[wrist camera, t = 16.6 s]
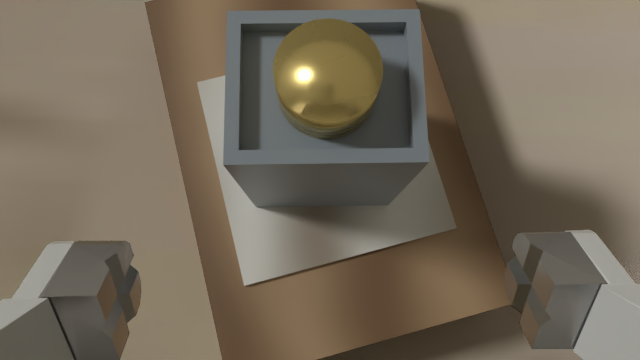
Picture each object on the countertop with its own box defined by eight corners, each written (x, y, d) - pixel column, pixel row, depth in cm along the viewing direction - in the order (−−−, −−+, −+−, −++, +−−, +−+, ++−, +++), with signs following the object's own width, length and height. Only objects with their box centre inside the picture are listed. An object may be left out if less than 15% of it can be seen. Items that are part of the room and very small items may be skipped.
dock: (242, 367, 23) (226, 385, 19) (169, 43, 26) (143, -1, 22) (484, 299, 24) (519, 302, 20) (384, -8, 27) (396, -59, 23)
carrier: (255, 207, 20) (223, 164, 13) (256, 104, 21) (226, 11, 14) (388, 204, 21) (429, 162, 13) (383, 102, 21) (419, 9, 14)
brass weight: (272, 135, 14) (267, 116, 12) (282, 43, 14) (278, 13, 13) (372, 143, 14) (379, 125, 12) (378, 51, 14) (385, 23, 13)
